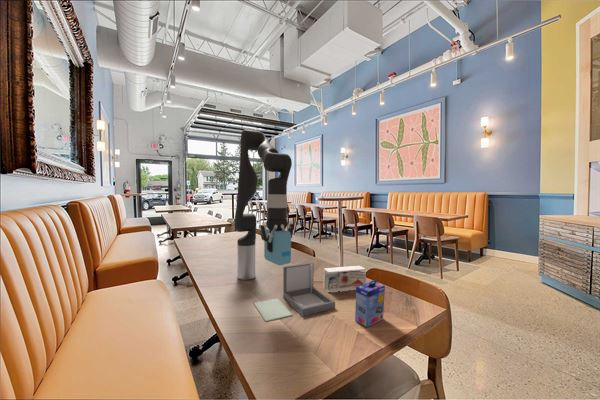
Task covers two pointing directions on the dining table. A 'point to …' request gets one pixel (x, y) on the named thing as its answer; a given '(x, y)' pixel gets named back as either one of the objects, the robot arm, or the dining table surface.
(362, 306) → the ink cartridge box
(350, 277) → the white printed box
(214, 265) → the dining table surface
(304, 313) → the case
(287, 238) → the blue rubber eraser
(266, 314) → the mat
